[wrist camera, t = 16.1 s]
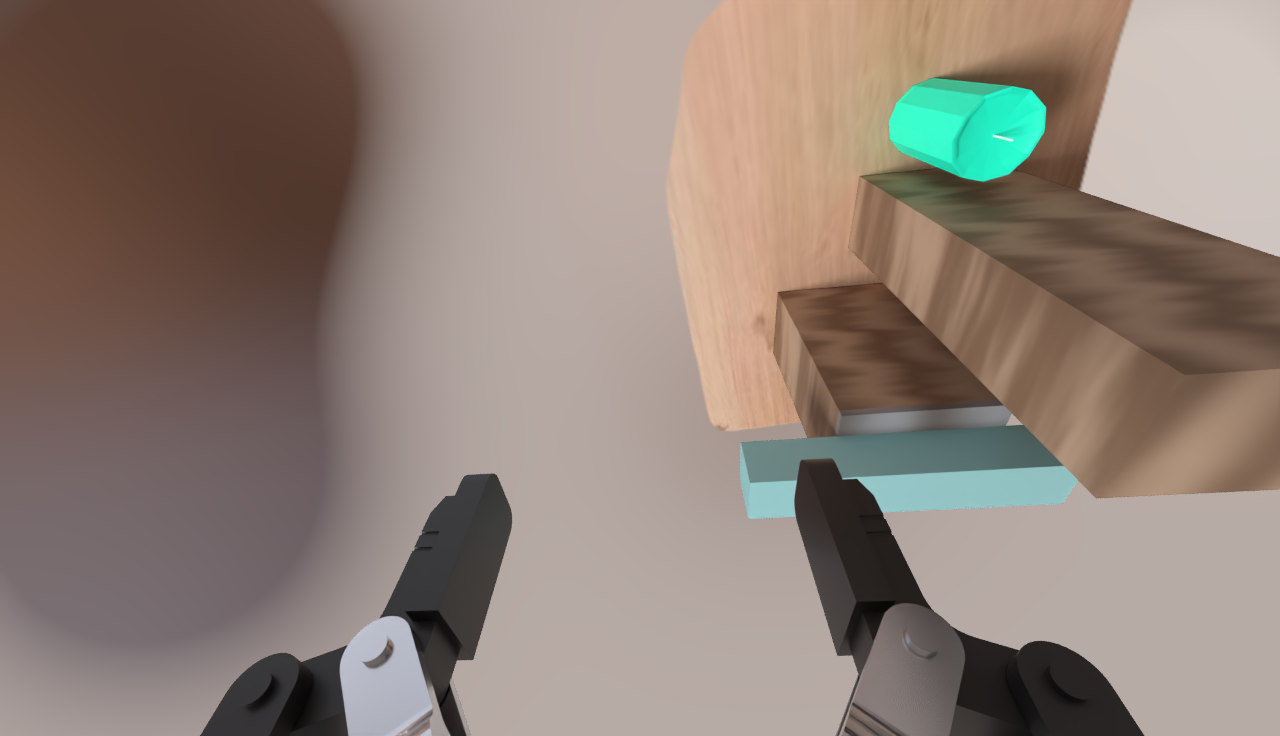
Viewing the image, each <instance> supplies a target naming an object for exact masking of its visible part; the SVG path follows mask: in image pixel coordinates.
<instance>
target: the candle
mask: <svg viewBox="0 0 1280 736" xmlns="http://www.w3.org/2000/svg"><path fill="white" fill-rule="evenodd" d="M1045 118H1046V106H1045V105H1044V104H1043V103H1042V102H1041V100H1040V99H1039V98H1038V97H1037V96H1036V95H1035V93H1034V92H1033V91H1032V90H1029V89H1024V88H1019V87H1014V86H1006V85H997V84H987V83H977V82H968V81H958V80H949V79H939V78H931V79H929V80H926V81H924V82H921V83H919V84H916V85H914V86H913V87H912V88H911V89H910V90H909V91H908V92H907V93H906V94H905V95H904V96H903V97H902V98H901V99H900V100H899V101H898V102H897V104H896V106H895V109H894V111H893V114H892V116H891V118H890V121H889V130H890V140H891V142H892V143H893V144H894V145H895V146H896V147H897V149H898V150H899V151H900V152H902V153H904V154H907V155H909V156H911V157H914V158H916V159H919V160H921V161H923V162H926V163H928V164H931V165H933V166H935V167H938V168H940V169H943V170H945V171H947V172H950V173H952V174H955V175H957V176H959V177H962V178H967V179H972V180H977V181H983V182H984V181H987V180H991V179H994V178H998V177H1001V176H1005V175H1008V174H1010V173H1011V172H1012V171H1013V170H1014V169H1015V168H1017V167H1018V166H1019V165H1020V164H1021V163H1022V162H1023V161H1024V160H1025V159H1026V158H1027V157H1029V156H1030V154H1031V152H1032V151H1033V149H1034V148H1035V146H1036V144H1037V143H1038V141H1039V140H1040V138H1041V137H1042V135H1043V133H1044V132H1045Z"/></svg>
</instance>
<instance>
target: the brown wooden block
mask: <svg viewBox="0 0 1280 736" xmlns="http://www.w3.org/2000/svg"><path fill="white" fill-rule="evenodd" d="M773 353H774V356H775V358H776V361H777V363H778V366H779V368H780V371H781V373H782V376H783V378H784V381H785V383H786V386H787V388H788V391H789V393H790V396H791V398H792V401H793V403H794V406H795V408H796V411H797V413H798V416H799V418H800V421H801V423H802V426H803V428H804V431H805V433H806V435H807V438H818V437H835V436H851V435H867V434H884V433H900V432H916V431H932V430H949V429H965V428H981V427H998V426H1006V424H1007V422H1008V420H1009V417H1010V415H1011V414H1012V413H1011V412H1010V411H1009V410H1008V409H1007V408H1006V407H1005V406H1004V405H1003V404H1002V403H1001V402H1000V401H999V400H998V399H997V398H996V397H995V396H994V395H993V394H992V393H991V392H990V391H989V390H988V389H987V388H986V387H985V385H984V384H983V383H982V382H981V381H980V380H979V379H978V378H977V377H976V376H975V375H974V374H973V373H972V372H971V371H970V370H969V369H968V368H967V367H966V366H965V365H964V364H963V363H962V362H961V361H960V360H959V359H958V358H957V357H956V356H955V355H954V354H953V353H952V352H951V351H950V350H949V349H948V348H947V347H946V346H945V345H944V344H943V343H942V342H941V341H940V340H939V339H938V338H937V337H936V336H935V335H934V334H933V333H932V332H931V331H930V330H929V329H928V328H927V327H926V326H925V325H924V324H923V323H922V322H921V321H920V320H919V319H918V318H917V317H916V316H915V315H914V314H913V313H912V312H911V311H910V310H909V309H908V308H907V307H906V306H905V305H904V304H903V303H902V302H901V301H900V300H899V299H898V298H897V297H896V296H895V295H894V294H893V293H892V292H891V290H890V289H889V288H888V287H887V286H886V285H885V284H884V283H880V284H869V285H857V286H846V287H834V288H822V289H811V290H799V291H788V292H778V297H777V310H776V324H775V337H774V351H773Z"/></svg>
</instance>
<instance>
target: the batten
mask: <svg viewBox="0 0 1280 736" xmlns="http://www.w3.org/2000/svg"><path fill="white" fill-rule="evenodd" d="M826 458H832V459H833V460H834V461H835V463H836V465H837V467H838V469H839V472H840V474H841V476H842V479H858V480H859V481H860V482H861V483H862V484H863V485H864V486H865V487H866V488H867V489H868V490H869V491H870V492H871V493H872V494H873V495H874V497H875V499H876V501H877V503H878V505H879V507H880V509H881V511H882V512H897V511H920V510H938V509H939V510H941V509H961V508H981V507H1002V506H1024V505H1043V504H1044V505H1045V504H1062V503H1063V502H1064V501H1065V499H1066V498H1067V496H1068V495H1069V493H1070V492H1071V490H1072V489H1073V487H1074V485H1075V484H1076V482H1077V481H1078V479H1077V478H1076V477H1075V476H1074V475H1073V474H1072V473H1071V472H1070V471H1069V470H1068V469H1067V468H1066V467H1065V466H1064V465H1063V464H1062V463H1061V462H1060V461H1059V460H1058V459H1057V458H1056V457H1055V456H1054V455H1053V454H1052V453H1051V452H1050V451H1049V450H1048V449H1047V448H1046V447H1045V446H1044V445H1043V444H1042V443H1041V442H1040V441H1039V440H1038V439H1037V438H1036V437H1035V436H1034V435H1033V434H1032V433H1031V432H1030V431H1029V430H1028V429H1027V428H1026V427H1025V426H1024V425H1015V426H998V427H981V428H965V429H949V430H932V431H916V432H900V433H884V434H867V435H851V436H835V437H818V438H802V439H786V440H770V441H753V442H741V459H740V480H741V485H742V490H743V495H744V500H745V504H746V509H747V514H748V518H749V519H752V518H773V517H794V516H796V514H795V507H794V497H795V490H796V484H797V477H798V471H799V465H800V461H801V460H806V459H826Z"/></svg>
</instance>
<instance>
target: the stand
mask: <svg viewBox="0 0 1280 736" xmlns="http://www.w3.org/2000/svg"><path fill="white" fill-rule="evenodd" d="M848 248H849V249H850V250H851V251H852V252H853V253H854V254H855V255H856V256H857V257H858V258H859V259H860V260H861V261H862V262H863V263H864V264H865V265H866V266H867V267H868V268H869V269H870V270H871V271H872V272H873V273H874V274H875V275H876V276H877V277H878V278H879V279H880V280H881V281H882V282H883V283H884V284H885V285H886V286H887V287H888V288H889V289H890V290H891V292H892V293H893V294H894V295H895V296H896V297H897V298H898V299H899V300H900V301H901V302H902V303H903V304H904V305H905V306H906V307H907V308H908V309H909V310H910V311H911V312H912V313H913V314H914V315H915V316H916V317H917V318H918V319H919V320H920V321H921V322H922V323H923V324H924V325H925V326H926V327H927V328H928V329H929V330H930V331H931V332H932V333H933V334H934V335H935V336H936V337H937V338H938V339H939V340H940V341H941V342H942V343H943V344H944V345H945V346H946V347H947V348H948V349H949V350H950V351H951V352H952V353H953V354H954V355H955V356H956V357H957V358H958V359H959V360H960V361H961V362H962V363H963V364H964V365H965V366H966V367H967V368H968V369H969V370H970V371H971V372H972V373H973V374H974V375H975V376H976V377H977V378H978V379H979V380H980V381H981V382H982V383H983V384H984V385H985V387H986V388H987V389H988V390H989V391H990V392H991V393H992V394H993V395H994V396H995V397H996V398H997V399H998V400H999V401H1000V402H1001V403H1002V404H1003V405H1004V406H1005V407H1006V408H1007V409H1008V410H1009V411H1010V412H1011V413H1012V414H1013V415H1014V416H1015V417H1016V418H1017V419H1018V420H1019V421H1020V422H1021V423H1022V424H1023V425H1024V426H1025V427H1026V428H1027V429H1028V430H1029V431H1030V432H1031V433H1032V434H1033V435H1034V436H1035V437H1036V438H1037V439H1038V440H1039V441H1040V442H1041V443H1042V444H1043V445H1044V446H1045V447H1046V448H1047V449H1048V450H1049V451H1050V452H1051V453H1052V454H1053V455H1054V456H1055V457H1056V458H1057V459H1058V460H1059V461H1060V462H1061V463H1062V464H1063V465H1064V466H1065V467H1066V468H1067V469H1068V470H1069V471H1070V472H1071V473H1072V474H1073V475H1074V476H1075V477H1076V478H1077V479H1078V481H1079V482H1080V483H1082V484H1083V486H1084V487H1085V488H1087V490H1088V491H1089V492H1090V493H1091V494H1092V495H1093V496H1094V497H1095V498H1113V497H1132V496H1152V495H1153V496H1154V495H1173V494H1174V495H1175V494H1195V493H1214V492H1215V493H1216V492H1235V491H1257V490H1278V489H1280V257H1277V256H1274V255H1271V254H1268V253H1265V252H1262V251H1259V250H1256V249H1253V248H1250V247H1247V246H1244V245H1241V244H1238V243H1235V242H1232V241H1229V240H1226V239H1223V238H1220V237H1217V236H1213V235H1211V234H1208V233H1205V232H1202V231H1199V230H1196V229H1192V228H1190V227H1187V226H1184V225H1180V224H1177V223H1174V222H1171V221H1169V220H1165V219H1162V218H1160V217H1156V216H1154V215H1150V214H1147V213H1144V212H1141V211H1138V210H1135V209H1132V208H1129V207H1126V206H1123V205H1120V204H1117V203H1114V202H1111V201H1108V200H1105V199H1102V198H1099V197H1096V196H1093V195H1090V194H1087V193H1084V192H1081V191H1078V190H1075V189H1072V188H1069V187H1066V186H1063V185H1060V184H1057V183H1054V182H1051V181H1048V180H1045V179H1042V178H1039V177H1036V176H1033V175H1030V174H1027V173H1024V172H1021V171H1018V170H1015V169H1014V170H1013V171H1012V172H1011V173H1010V174H1008V175H1005V176H1001V177H998V178H994V179H991V180H987V181H984V182H983V181H977V180H972V179H967V178H962V177H959V176H957V175H955V174H952V173H950V172H947V171H945V170H943V169H940V168H936V169H927V170H917V171H907V172H898V173H888V174H879V175H869V176H860V178H859V185H858V191H857V197H856V203H855V209H854V216H853V222H852V228H851V234H850V240H849V246H848Z"/></svg>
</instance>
